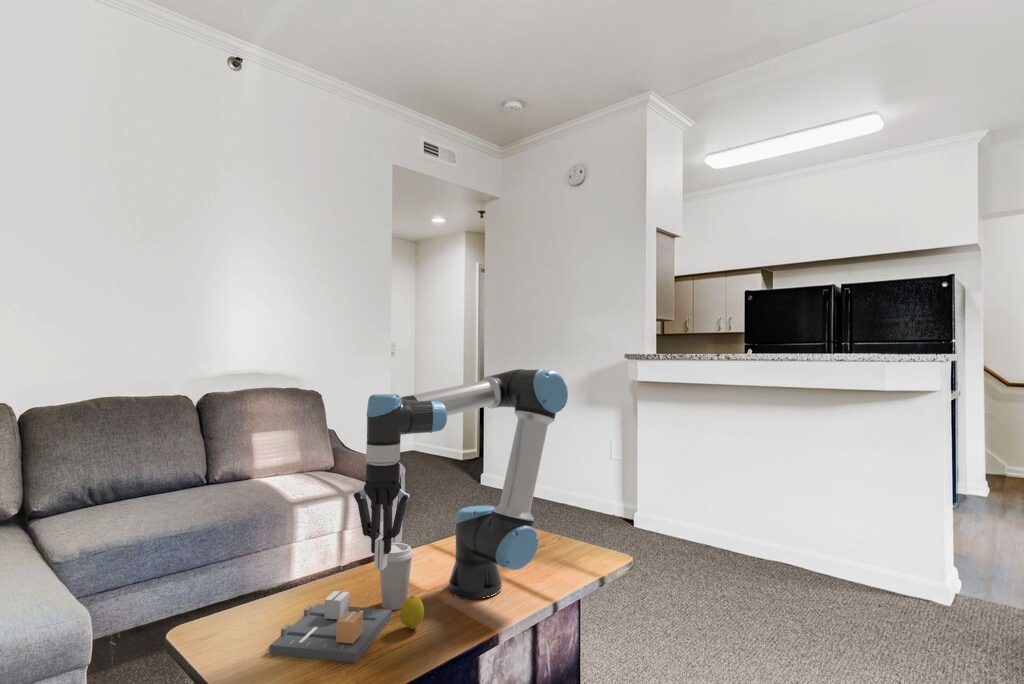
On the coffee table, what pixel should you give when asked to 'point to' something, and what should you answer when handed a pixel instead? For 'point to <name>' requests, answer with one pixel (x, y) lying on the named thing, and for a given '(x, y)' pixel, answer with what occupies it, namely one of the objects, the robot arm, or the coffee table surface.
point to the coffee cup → (396, 576)
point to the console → (328, 635)
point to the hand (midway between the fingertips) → (380, 567)
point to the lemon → (412, 612)
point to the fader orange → (349, 627)
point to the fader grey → (336, 605)
